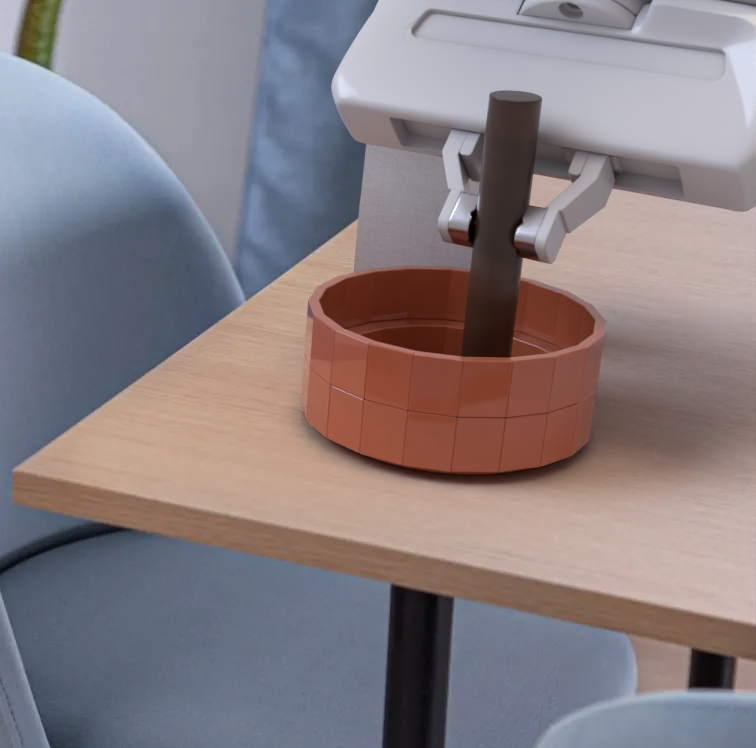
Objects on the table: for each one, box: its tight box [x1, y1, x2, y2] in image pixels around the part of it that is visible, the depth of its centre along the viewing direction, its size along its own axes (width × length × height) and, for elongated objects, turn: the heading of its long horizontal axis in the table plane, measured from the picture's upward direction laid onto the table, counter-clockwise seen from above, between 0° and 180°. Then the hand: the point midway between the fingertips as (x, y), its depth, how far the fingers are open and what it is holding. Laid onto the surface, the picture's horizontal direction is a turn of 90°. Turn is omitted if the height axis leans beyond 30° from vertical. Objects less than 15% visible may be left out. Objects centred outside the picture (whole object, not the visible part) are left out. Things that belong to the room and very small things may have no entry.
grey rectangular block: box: [353, 144, 480, 272], centre depth 90 cm, size 4×7×10 cm, turn 81°
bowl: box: [300, 266, 607, 476], centre depth 79 cm, size 13×13×6 cm
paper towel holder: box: [461, 90, 542, 358], centre depth 76 cm, size 6×6×14 cm
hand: (493, 246), depth 76 cm, fingers closed on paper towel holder, 2 cm apart
